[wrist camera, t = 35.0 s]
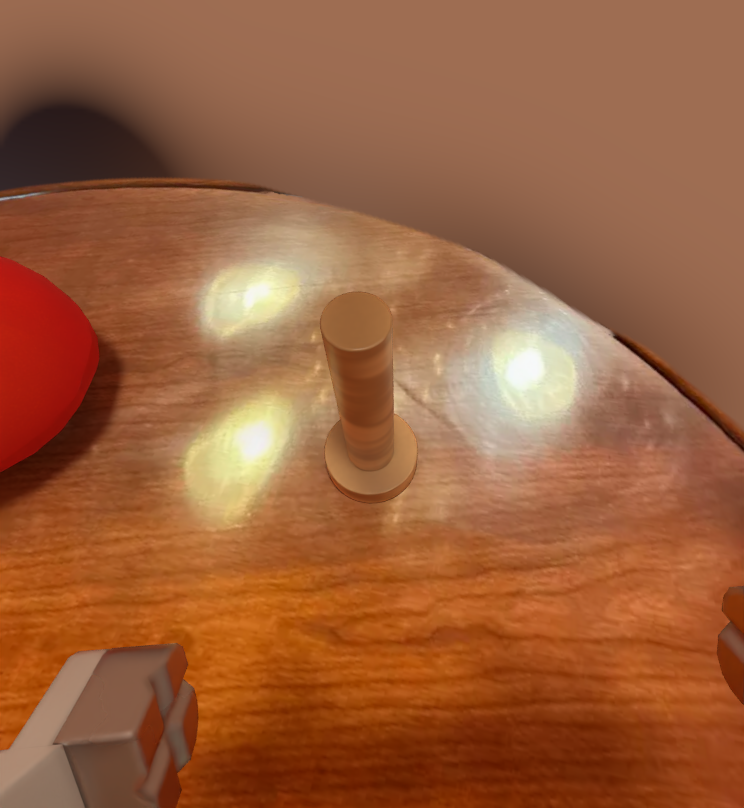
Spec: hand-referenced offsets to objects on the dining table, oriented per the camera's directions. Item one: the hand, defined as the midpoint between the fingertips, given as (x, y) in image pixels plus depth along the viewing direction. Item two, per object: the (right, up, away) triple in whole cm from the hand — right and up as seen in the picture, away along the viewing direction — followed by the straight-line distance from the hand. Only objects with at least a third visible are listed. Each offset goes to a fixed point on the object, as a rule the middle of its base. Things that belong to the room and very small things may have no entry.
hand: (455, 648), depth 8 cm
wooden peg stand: (-1, 0, +24) cm, 24 cm away
